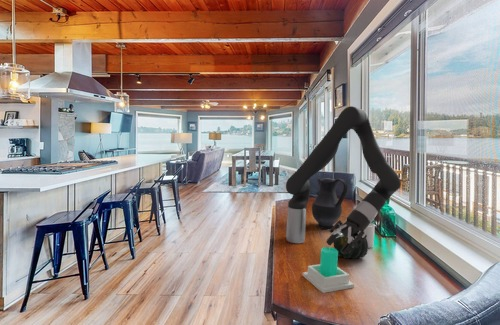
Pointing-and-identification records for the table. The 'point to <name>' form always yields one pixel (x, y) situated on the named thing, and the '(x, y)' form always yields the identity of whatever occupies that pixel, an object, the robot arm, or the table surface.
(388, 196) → the robot arm
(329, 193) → the pitcher
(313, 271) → the candle stand
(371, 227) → the mug
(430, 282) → the table surface
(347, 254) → the squash
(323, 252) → the candle
